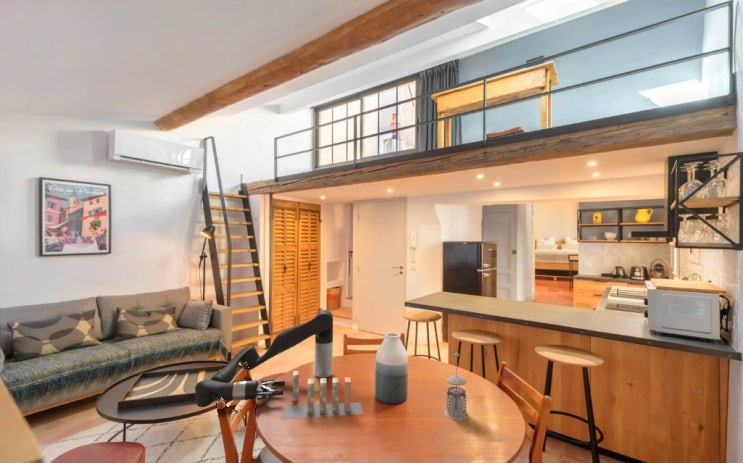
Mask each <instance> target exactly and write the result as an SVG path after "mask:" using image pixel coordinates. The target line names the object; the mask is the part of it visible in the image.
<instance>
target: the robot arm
mask: <svg viewBox="0 0 743 463" xmlns="http://www.w3.org/2000/svg"><path fill="white" fill-rule="evenodd" d="M312 336H314V376H315V377H317V378H320V379H321V378H329V377H331V376H332V375H333V357H334V356H333V353H334V352H333V351H334V348H333V344H334V339H333V338H334V316H333V314H332V312H331V311H330V310H328V309H322V310H319V311H318V312H317V314H316V315H315V317H313V318H312V319H311V320H309V321H307V322H305V323H303V324H300V325H296V326H293V327H289V328H287V329H285V330H284V331H282V332H280V333H279V334H277V335H276V336H275V337H274V339H273V341H271V342H272V343H271V344H270V346H269V347H268V349H267V350H266V352H265V353H264V354H262V355H261V356H260V354H259V353H258V351H257V349H256V347H255V346H254V345H253V344H252V345H248V346H245V347H244V348H242V349H241V350H239V351H238V352H237V353H236V355H234V356H233V357H232V358H231V360H230V361H228V363H227V364H226V365H225V366H224V367H223V368H221V370H219V371H218V372H217V373H215V374H214V375H212V377H210V379H203V380H200V381H199V382H197V383H196V385H195V387H194V392H195V395H194V396H195V404H196V406H197V407H199V408H206V407H208V406H210V405H212V403H214V401H216V400H217V398H218V399H219V400H220V399H221V397H222V398H223V399H224V400H226V402H227V401H229V402H230V401H247V400H250V401H251V400H256V399H257V401H258V400H260V401H262V400H272V398H273V397H275V396H283V395H284V389H281V388H280V389H273V388H275V387H276V388H277V387H285V386H286V381H285V380H276V378H269V379H262V380H261V383H259V382H258V380H256V379H255V380H254V379H253V380H252V379H251V380H241V381H235V382H234V381H233V379H234V378H235V376H236V374H237V370H238V367H239V364H240V365H241V368H243V370H244V369H248V371H251V370H254V369H255V368H257V367H258V366H260V365H262V364H264V363H266V362H267V361H269V360H270V359H272V358H274V357H276V356H278V355H280V354H282V353H283V352H286V351H288V350H289V349H291V348H294V347H295V346H297V345H300V344H301V343H302V342H305V341H306V340H307V339H309V338H310V337H312ZM244 362H247V363H246V365H247V364H248V365H247V366H246V365H245V363H244ZM243 363H244V365H243ZM248 367H249V368H248ZM248 371H247V372H248ZM232 381H233V382H232Z"/></svg>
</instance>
